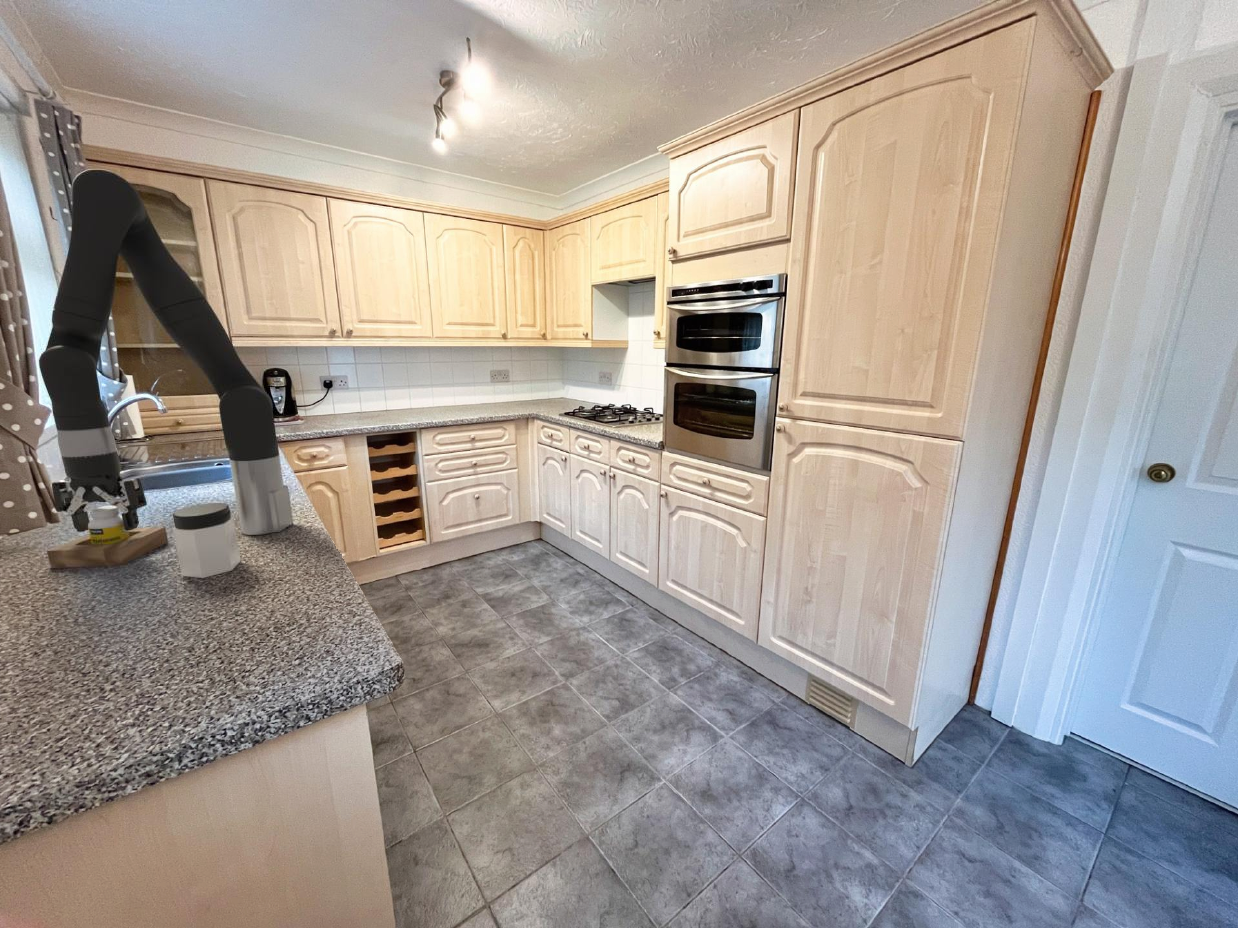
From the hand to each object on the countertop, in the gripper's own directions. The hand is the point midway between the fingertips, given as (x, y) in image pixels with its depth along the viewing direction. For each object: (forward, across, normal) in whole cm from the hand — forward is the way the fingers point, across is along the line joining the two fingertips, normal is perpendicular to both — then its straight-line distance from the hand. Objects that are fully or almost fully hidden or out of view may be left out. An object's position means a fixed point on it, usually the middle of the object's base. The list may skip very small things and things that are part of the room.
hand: (108, 529), depth 100 cm
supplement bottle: (+6, 0, 0) cm, 6 cm away
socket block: (+5, 0, 0) cm, 5 cm away
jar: (+6, -24, +9) cm, 26 cm away
